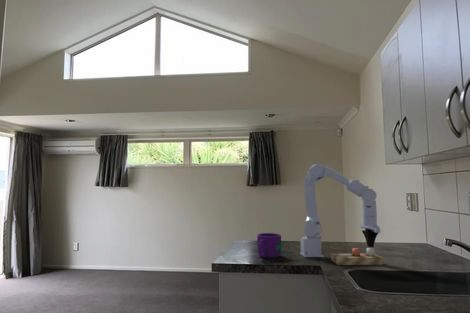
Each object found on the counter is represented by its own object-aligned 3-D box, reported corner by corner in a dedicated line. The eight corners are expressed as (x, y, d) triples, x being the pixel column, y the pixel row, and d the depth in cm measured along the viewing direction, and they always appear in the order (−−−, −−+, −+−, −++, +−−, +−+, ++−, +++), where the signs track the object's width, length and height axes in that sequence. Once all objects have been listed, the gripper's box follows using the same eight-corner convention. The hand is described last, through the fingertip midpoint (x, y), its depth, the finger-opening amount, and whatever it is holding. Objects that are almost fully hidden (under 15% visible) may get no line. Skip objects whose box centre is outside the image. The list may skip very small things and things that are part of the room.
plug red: (354, 256, 145) (354, 249, 145) (351, 255, 148) (351, 248, 148) (361, 256, 145) (361, 249, 145) (358, 255, 148) (358, 247, 148)
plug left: (340, 262, 144) (339, 255, 144) (337, 261, 147) (337, 253, 147) (347, 262, 144) (347, 255, 144) (344, 261, 147) (344, 253, 148)
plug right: (368, 256, 145) (368, 249, 145) (365, 255, 148) (365, 247, 149) (375, 256, 145) (375, 249, 146) (372, 255, 148) (372, 247, 149)
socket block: (337, 265, 141) (337, 257, 142) (331, 260, 149) (331, 253, 150) (383, 264, 143) (382, 257, 143) (374, 260, 151) (373, 253, 151)
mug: (263, 252, 166) (263, 232, 166) (284, 255, 160) (284, 234, 161) (247, 259, 150) (247, 237, 151) (271, 262, 145) (271, 239, 146)
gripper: (386, 217, 141) (387, 250, 140) (370, 214, 156) (371, 243, 155) (370, 217, 141) (371, 250, 140) (356, 214, 155) (356, 243, 154)
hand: (370, 246), depth 147 cm, fingers closed
